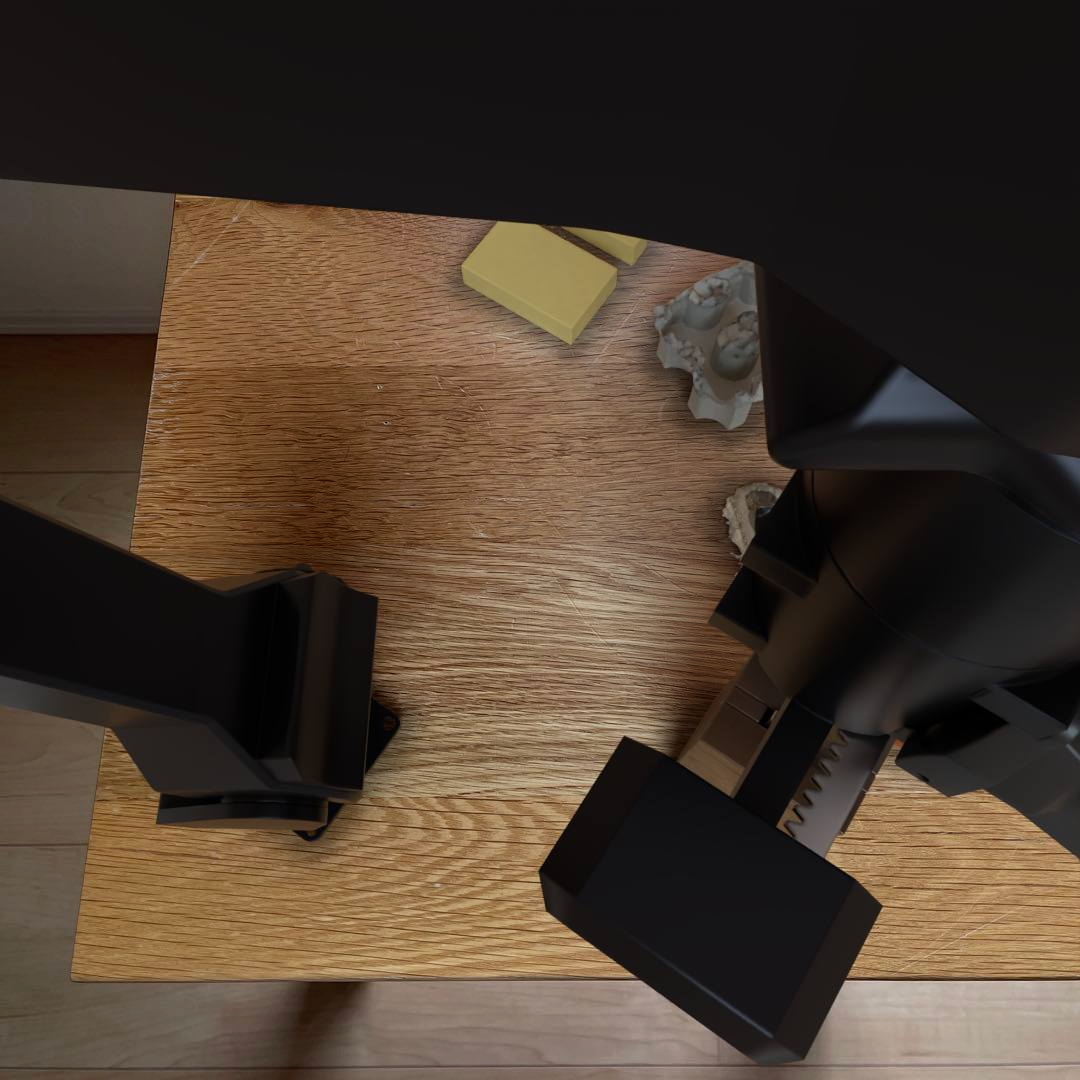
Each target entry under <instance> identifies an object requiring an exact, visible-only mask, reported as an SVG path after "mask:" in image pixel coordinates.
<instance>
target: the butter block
mask: <svg viewBox="0 0 1080 1080" xmlns="http://www.w3.org/2000/svg"><path fill="white" fill-rule="evenodd" d="M460 266H461V274H462V281H463V284H464V285H466V286H468V287H469V288H471V289H473V290H474V291H477V293H479V294H481V295H483V296H485V297H487V298H489V299H490V300H492V301H494V302H495V303H497V304H499V305H500V306H502V307H504V308H506V309H507V310H509V311H511V312H512V313H514V314H516V315H518V316H520V317H522V318H523V319H524V320H526V321H528V322H530V323H531V324H533V325H535V326H537V327H538V328H540V329H542V330H544V331H546V332H547V333H549V334H550V335H553V336H555V337H556V338H558V339H559V340H561V341H563V342H564V343H567V344H568V345H570V346H572V345H573V344H574V342H575V341H576V340H577V339H578V337H579V336H580V334H581V333H582V332H583V331H584V329H585V328H586V327H587V325H589V323H590V321H591V320H592V319H593V318H594V316H595V314H597V313H598V311H599V310H600V309H601V307H602V306H603V305H604V303H605V302H606V300H607V299H608V298H609V297H610V295H612V293H613V291H615V289H616V288H617V279H618V272H619V271H618V270H619V269H618V268H617V267H616V266H614V265H612V264H610V263H608V262H607V261H604V260H603V259H601V258H599V257H598V256H596V255H594V254H592V253H590V252H588V251H587V250H584V249H582V248H581V247H579V246H577V245H575V244H573V243H572V242H570V241H568V240H566V239H564V238H563V237H561V236H559V235H557V234H555V233H554V232H552V231H551V230H548V229H546V228H544V227H543V226H542V225H536V224H524V223H513V222H501V221H496V223H495V224H494V225H493V227H492V228H491V229H490V230H489V231H488V233H487V234H486V235H485V236H484V237H483V238H482V239H481V241H480V242H479V243H478V245H476V247H475V248H474V249H473V251H472V252H470V254H469V255H468V256H467V257H466V259H465V260H464V261H463V262H462V264H461V265H460Z"/></svg>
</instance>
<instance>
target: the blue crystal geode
mask: <svg viewBox="0 0 1080 1080" xmlns="http://www.w3.org/2000/svg"><path fill="white" fill-rule="evenodd" d="M782 492H783V490H782V489H781V488H780V487H777V486H772V485H770V484H769V483H768V482H761V481H760V482H759V481H757V482H751V483H747V484H745V485H742V486H741V487H738V486H737V487H736V490H735V494H733V495H729V496H728V497H727V498H726V504H724V506H725V507H723V509H722V510H721V511H722V515H721V517H725V518H726V519H727V521H726V522H725V523H726V525H729V526H728V532H727V533H728V534H729V535H728V536H727V538H729V539H730V541H731V542H732V543H733V544H735V545H736V546H737V547H738V549H739V550H740V553H741V554H740V555H739V554H736V553H733V552H729V554H730V555H733V556H734V557H735V559H736V560H737V559H739V562H737V564H738V565H741V566H740V568H741V567H742V565H743V564H741V563H740V561H741V559H742V557H743V555H744V553H745V551H746V549H747V548H748V546H749V544H750V542H751V541H752V539H753V537H754V536H755V534H756V533H757V531H758V529H759V528H760V526H761V525H762V523H763V522H764V520H765V518H766V517H767V515H768V514H769V512H770V511H771V509H772V507H773V506H774V504H775V503H776V501H777V499H778V498H779V496H780V495H781V493H782ZM738 572H739V571H737V572H736V573H735V575H734V577H735V576H736V575H737V573H738Z"/></svg>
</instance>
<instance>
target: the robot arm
mask: <svg viewBox="0 0 1080 1080" xmlns="http://www.w3.org/2000/svg"><path fill="white" fill-rule="evenodd" d="M0 180H7V181H8V180H9V181H19V182H29V183H40V184H41V183H43V184H52V185H53V184H54V185H64V186H65V185H66V186H78V187H90V188H101V189H112V190H113V189H114V190H123V191H135V192H136V191H137V192H149V193H161V194H172V195H183V196H184V195H185V196H196V197H206V198H207V197H208V198H222V199H230V200H231V199H232V200H242V201H253V202H255V201H256V202H265V203H277V204H278V203H281V204H289V205H290V204H291V205H301V206H314V207H315V206H316V207H324V208H326V207H327V208H338V209H347V210H361V211H370V212H371V211H373V212H383V213H384V212H385V213H394V214H395V213H396V214H407V215H408V214H409V215H417V216H418V215H420V216H429V217H430V216H431V217H432V216H433V217H442V218H454V219H455V218H456V219H468V220H477V221H491V222H498V221H501V222H513V223H524V224H536V225H539V226H550V227H559V226H560V227H559V228H561V227H572V228H583V229H590V230H596V231H603V232H610V233H616V234H620V235H625V236H630V237H635V238H640V239H645V240H647V241H650V242H655V243H660V244H664V245H668V246H674V247H679V248H684V249H688V250H693V251H699V252H703V253H708V254H713V255H718V256H722V257H727V258H732V259H735V260H736V259H738V260H740V261H742V260H746V261H750V262H752V263H754V276H755V289H756V303H757V317H758V331H759V345H760V359H761V373H762V387H763V400H762V401H763V411H764V412H763V414H764V428H765V441H766V449H767V453H768V456H769V457H770V459H771V461H772V462H774V463H775V464H776V465H778V466H780V467H782V468H784V469H788V470H793V471H794V472H793V474H792V475H791V477H790V479H789V480H788V482H787V484H786V485H785V487H784V488H783V490H782V491H783V492H782V493H781V495H780V496H779V498H778V499H777V501H776V503H775V504H774V506H773V507H772V509H771V511H770V512H769V514H768V515H767V517H766V518H765V520H764V522H763V523H762V525H761V526H760V528H759V529H758V531H757V533H756V534H755V536H754V537H753V539H752V541H751V542H750V544H749V546H748V548H747V549H746V551H745V553H744V555H743V557H742V559H741V561H740V560H739V563H741V564H743V565H741V564H740V565H741V566H742V567H741V566H740V569H738V571H737V572H738V573H737V572H736V573H737V575H736V576H735V575H734V578H733V580H732V581H731V583H730V584H729V586H728V588H727V589H726V591H725V592H724V594H723V595H722V596H721V599H720V600H719V602H718V603H717V605H716V606H715V608H714V610H713V611H712V613H711V615H710V617H709V619H708V621H707V624H708V625H709V626H712V627H713V628H714V629H717V630H718V631H720V633H723V634H725V635H727V636H728V637H729V638H731V639H733V640H734V641H736V642H737V643H739V644H741V645H742V646H744V647H745V648H748V649H749V650H751V651H752V652H755V653H757V654H758V660H759V662H760V664H761V666H762V667H763V669H764V671H765V672H766V674H767V675H768V676H769V678H770V679H771V680H772V681H773V683H774V684H775V685H776V686H777V687H778V688H779V689H780V690H781V692H783V693H784V694H785V695H786V696H787V698H786V700H785V701H784V703H783V705H782V706H781V708H780V710H779V712H778V713H777V715H776V717H775V718H774V720H773V722H772V723H771V725H770V727H769V729H768V730H767V732H766V734H765V735H764V737H763V739H762V741H761V742H760V744H759V746H758V747H757V749H756V751H755V753H754V754H753V756H752V758H751V759H750V761H749V763H748V765H747V766H746V768H745V770H744V771H743V773H742V775H741V776H740V778H739V780H738V782H737V783H736V785H735V787H734V788H733V790H732V792H731V794H730V795H727V794H726V793H724V792H722V791H721V790H719V789H718V788H716V787H715V786H713V785H712V784H710V783H709V782H707V781H706V780H704V779H703V778H701V777H700V776H698V775H697V774H695V773H694V772H692V771H691V770H689V769H687V768H686V767H684V766H683V765H681V764H680V763H678V762H677V761H676V759H674V758H672V757H671V756H669V755H668V754H666V753H664V752H663V751H661V750H658V749H656V748H654V747H652V746H649V745H646V744H645V743H642V742H640V741H638V740H635V739H634V738H631V737H629V736H627V735H623V736H622V738H621V740H620V741H619V742H618V744H617V746H616V747H615V749H614V751H613V752H612V753H611V755H610V757H609V759H608V760H607V761H606V763H605V764H604V766H603V768H602V770H601V771H600V773H599V774H598V776H597V777H596V778H595V781H594V782H593V784H592V785H591V787H590V788H589V789H588V791H587V793H586V795H585V796H584V798H583V800H582V801H581V803H580V804H579V806H578V807H577V809H576V811H574V814H573V816H572V817H571V818H570V819H569V821H568V823H567V824H566V827H564V829H563V831H562V832H561V834H560V836H559V837H558V839H557V840H556V842H555V844H554V845H553V847H551V848H552V849H551V850H550V852H549V853H548V855H547V856H546V858H545V860H544V861H543V863H542V864H541V865H540V867H539V868H538V871H537V873H538V878H539V883H540V887H541V894H542V898H543V904H544V909H545V912H546V913H548V914H549V915H550V916H552V917H553V918H554V919H556V920H557V921H558V922H559V923H561V924H562V925H563V926H565V927H566V928H567V929H569V931H571V932H573V933H574V934H576V935H577V936H579V937H580V938H581V939H583V940H584V941H585V942H586V943H588V944H589V945H591V946H593V947H594V948H595V949H597V950H598V951H599V952H601V953H602V954H603V955H605V956H606V957H608V958H609V959H610V960H612V961H613V962H615V963H616V964H617V965H619V966H620V967H621V968H623V969H624V970H626V971H627V972H629V974H631V975H632V976H634V977H635V978H637V979H638V980H639V981H641V982H642V983H643V984H645V985H646V986H647V987H649V988H650V989H652V990H653V991H655V992H656V993H658V995H660V996H661V997H663V998H664V999H666V1000H668V1001H669V1002H670V1003H671V1004H673V1005H674V1006H675V1007H677V1008H678V1009H679V1010H681V1011H682V1012H684V1013H685V1014H686V1015H688V1016H689V1017H691V1018H692V1019H694V1020H695V1021H696V1022H698V1023H699V1024H701V1025H702V1026H703V1027H705V1028H706V1029H707V1030H709V1031H710V1032H711V1033H713V1034H714V1035H716V1036H717V1037H719V1038H720V1039H721V1040H723V1041H724V1042H725V1043H727V1044H728V1045H729V1046H731V1047H732V1048H733V1049H735V1050H737V1051H738V1052H740V1053H741V1054H742V1055H744V1056H745V1057H746V1058H748V1059H750V1060H751V1061H752V1062H754V1063H756V1064H757V1065H759V1067H761V1068H764V1067H765V1068H766V1067H770V1066H776V1065H782V1064H783V1065H784V1064H789V1063H795V1062H801V1061H805V1060H806V1058H807V1056H808V1054H809V1052H810V1050H811V1048H812V1046H813V1045H814V1042H815V1040H816V1038H817V1036H818V1034H819V1032H820V1031H821V1029H822V1026H823V1025H824V1023H825V1021H826V1018H827V1017H828V1015H829V1013H830V1011H831V1009H832V1008H833V1005H834V1003H835V1002H836V999H837V997H838V996H839V994H840V993H841V992H840V991H841V990H842V987H844V984H845V982H846V980H847V978H848V976H849V974H850V972H851V970H852V969H853V966H854V964H855V962H856V961H857V958H858V957H859V955H860V953H861V951H862V949H863V947H864V945H865V943H866V941H867V939H868V937H869V935H870V933H871V931H872V929H873V928H874V925H875V923H876V921H877V920H878V918H879V915H880V914H881V911H882V910H883V908H884V905H883V904H882V903H881V902H880V901H879V900H878V899H877V898H875V896H874V895H872V893H870V892H869V890H868V889H867V888H866V887H864V885H862V883H861V882H859V880H858V879H857V878H856V877H853V876H852V875H851V874H849V873H848V872H846V871H844V870H843V869H841V868H840V867H838V866H837V865H835V864H834V863H832V862H830V861H829V860H827V859H826V858H827V855H828V854H829V851H830V850H831V848H832V846H833V844H834V842H835V840H836V838H837V837H838V836H837V835H838V833H839V831H840V829H841V828H842V826H843V824H844V822H845V820H846V818H847V816H848V815H849V813H850V811H851V809H852V807H853V805H854V804H855V802H856V800H857V798H858V796H859V794H860V792H861V791H862V789H863V787H864V785H865V783H866V781H867V779H868V778H869V776H870V774H871V772H872V770H873V768H874V767H875V765H876V763H877V761H878V759H879V757H880V755H881V754H882V752H883V750H884V748H885V746H886V744H887V742H888V741H889V739H890V737H891V736H892V737H894V738H895V739H897V740H898V741H900V742H902V743H903V746H902V748H901V749H900V748H899V749H900V750H899V751H898V753H897V755H896V758H895V759H894V764H895V765H896V766H897V767H898V768H900V769H902V770H903V771H904V772H906V773H908V774H909V775H911V776H912V777H914V778H916V779H918V780H919V781H921V782H922V783H924V784H925V785H927V786H929V787H931V788H932V789H933V790H935V791H937V792H939V793H940V794H942V795H943V796H945V797H947V798H953V797H956V796H960V795H964V794H968V793H972V792H977V791H981V790H983V791H985V792H987V793H988V794H990V795H991V796H993V797H994V798H996V799H997V800H999V801H1001V802H1003V803H1004V804H1006V805H1008V806H1009V807H1010V808H1013V809H1014V810H1016V811H1017V812H1018V813H1020V814H1021V815H1022V816H1023V817H1025V818H1026V819H1027V820H1028V821H1030V822H1031V823H1032V824H1034V825H1035V826H1036V827H1037V828H1038V829H1040V830H1041V831H1042V832H1044V833H1045V835H1047V836H1048V837H1050V838H1051V839H1052V840H1054V841H1055V842H1056V843H1058V844H1059V845H1060V846H1062V847H1063V848H1064V849H1066V850H1067V851H1068V852H1069V853H1071V854H1072V855H1073V856H1074V857H1076V858H1077V859H1078V861H1079V862H1080V0H0ZM379 599H380V597H379V596H377V595H374V594H371V593H367V592H363V591H360V590H357V589H355V588H353V587H350V586H349V584H348V582H347V581H345V580H344V579H342V578H341V577H339V576H335V575H332V574H330V572H328V571H326V570H321V571H317V570H315V569H314V568H313V567H312V566H311V565H310V564H309V563H305V562H295V563H293V564H291V565H290V566H288V567H283V568H281V567H280V568H269V569H262V570H259V571H255V572H253V573H251V574H242V575H241V574H240V575H233V576H224V577H215V578H206V579H205V578H204V579H196V580H195V579H193V578H192V577H189V576H186V575H184V574H182V573H180V572H178V571H175V570H173V569H170V568H168V567H166V566H164V565H161V564H159V563H158V562H155V561H153V560H150V559H149V558H145V557H143V556H141V555H139V554H136V553H134V552H132V551H130V550H127V549H125V548H122V547H121V546H119V545H116V544H114V543H112V542H109V541H107V540H105V539H103V538H101V537H98V536H96V535H94V534H91V533H89V532H88V531H84V530H82V529H80V528H77V527H75V526H73V525H70V524H68V523H66V522H64V521H62V520H59V519H57V518H54V517H53V516H50V515H48V514H45V513H44V512H41V511H39V510H37V509H35V508H32V507H30V506H27V505H26V504H24V503H21V502H19V501H16V500H14V499H11V498H9V497H7V496H5V495H3V494H0V706H3V707H7V708H14V709H18V710H22V711H28V712H33V713H36V714H42V715H46V716H51V717H55V718H61V719H66V720H70V721H75V722H79V723H85V724H89V725H94V726H97V727H103V728H106V729H109V730H111V731H112V732H113V734H114V735H115V737H116V738H117V739H118V741H119V742H120V744H121V746H122V747H123V748H124V750H125V752H126V753H127V754H128V756H129V757H130V759H131V761H133V763H134V765H135V766H136V768H137V770H138V771H139V772H140V773H141V775H142V776H143V778H144V780H145V781H146V782H147V783H148V785H149V786H150V788H151V789H152V790H153V791H154V792H156V793H158V794H159V793H160V794H159V799H158V800H159V801H158V806H157V813H156V819H155V825H156V826H165V827H176V828H185V829H186V828H187V829H211V830H212V829H215V830H216V829H218V830H220V829H221V830H261V831H262V830H267V831H269V830H270V831H292V832H293V833H294V834H295V835H297V836H298V837H300V839H302V840H303V841H306V842H308V843H316V842H319V841H320V840H321V839H323V837H324V836H325V834H326V833H327V832H328V830H329V829H330V828H331V826H332V825H333V823H334V822H335V821H336V819H337V818H338V816H339V815H340V814H341V812H342V811H343V810H344V808H345V807H346V806H347V804H357V803H359V801H360V800H362V799H363V798H364V785H365V779H366V778H367V776H368V775H369V774H370V772H371V771H372V770H373V768H374V767H375V765H376V764H377V763H378V761H379V760H380V758H381V757H382V756H383V755H384V753H385V752H386V750H388V748H389V746H390V745H391V744H392V742H394V740H395V739H396V737H397V736H398V734H399V733H400V731H401V729H402V721H401V718H400V717H399V716H398V715H397V714H396V713H395V712H393V711H392V710H390V708H388V707H387V706H384V704H382V703H381V702H379V701H378V700H377V699H375V698H374V697H372V696H373V694H374V693H375V684H374V683H373V678H374V677H373V676H374V665H375V664H374V663H375V654H376V653H375V651H376V640H377V639H376V638H377V627H378V616H379V615H378V614H379V612H378V610H379ZM389 720H390V721H391V720H392V721H394V725H393V727H391V728H387V727H386V723H387V722H388V721H389ZM833 726H835V727H838V729H837V730H836V732H835V734H836V735H837V737H838V738H839V739H840V740H841V741H842V743H843V744H844V745H842V744H838V743H834V742H831V743H830V744H828V746H827V750H828V751H829V752H830V753H831V754H832V756H833V757H834V758H835V760H833V759H828V758H824V757H823V758H821V759H820V760H819V762H818V764H819V765H820V766H821V768H822V769H823V770H824V771H825V773H826V774H827V775H822V774H818V773H813V774H811V776H810V778H809V779H810V780H811V781H812V782H813V784H814V785H815V786H816V787H817V789H818V791H815V790H811V789H807V788H806V789H803V790H802V792H801V795H802V796H803V798H804V799H805V800H806V801H807V802H808V804H809V805H810V806H809V807H807V806H803V805H799V804H796V805H794V806H793V808H792V810H793V812H794V813H795V814H796V815H797V817H798V818H799V819H800V820H801V822H800V823H799V822H795V821H790V820H787V821H785V823H784V824H783V826H784V827H785V828H786V830H787V831H788V832H789V833H790V835H791V836H792V837H791V836H789V835H788V834H786V833H785V832H783V831H782V830H780V829H779V828H777V827H776V826H777V824H778V823H779V821H780V819H781V817H782V815H783V814H784V812H785V810H786V808H787V807H788V805H789V803H790V801H791V799H792V798H793V796H794V794H795V792H796V791H797V789H798V787H799V785H800V783H801V782H802V780H803V778H804V776H805V775H806V773H807V771H808V769H809V768H810V766H811V764H812V762H813V760H814V759H815V757H816V755H817V753H818V752H819V750H820V748H821V746H822V744H823V743H824V741H825V739H826V737H827V736H828V734H829V732H830V730H831V728H832V727H833ZM315 830H316V832H315V833H314V834H313V835H310V834H309V831H315Z"/></svg>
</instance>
